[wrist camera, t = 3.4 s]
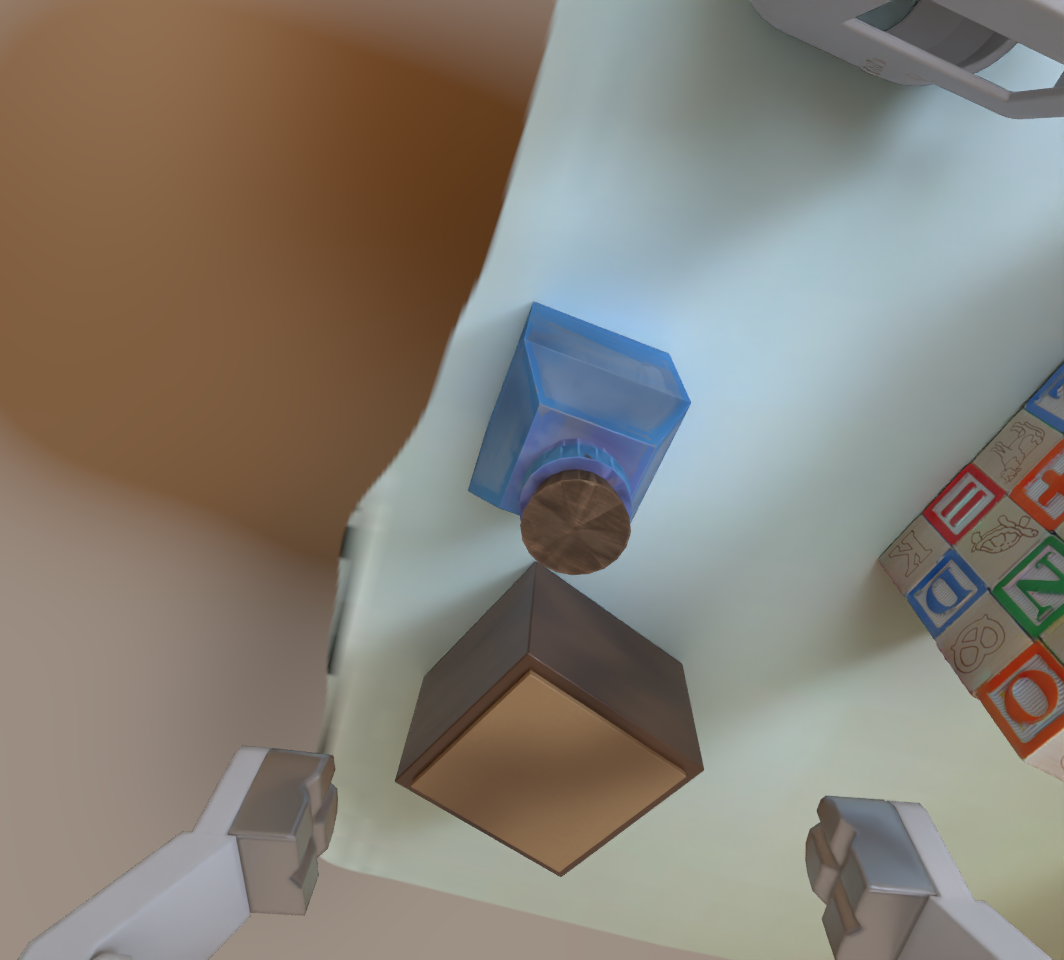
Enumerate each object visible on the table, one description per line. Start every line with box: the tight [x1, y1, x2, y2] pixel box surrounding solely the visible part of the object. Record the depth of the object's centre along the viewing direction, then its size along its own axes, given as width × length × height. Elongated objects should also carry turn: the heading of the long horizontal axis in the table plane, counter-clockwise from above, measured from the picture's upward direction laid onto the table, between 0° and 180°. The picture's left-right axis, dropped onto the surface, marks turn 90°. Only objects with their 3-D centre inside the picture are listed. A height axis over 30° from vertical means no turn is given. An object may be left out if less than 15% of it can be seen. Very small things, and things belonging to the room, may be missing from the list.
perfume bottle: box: [468, 302, 691, 575], centre depth 25 cm, size 6×6×12 cm
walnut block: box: [395, 561, 704, 877], centre depth 34 cm, size 10×10×7 cm
